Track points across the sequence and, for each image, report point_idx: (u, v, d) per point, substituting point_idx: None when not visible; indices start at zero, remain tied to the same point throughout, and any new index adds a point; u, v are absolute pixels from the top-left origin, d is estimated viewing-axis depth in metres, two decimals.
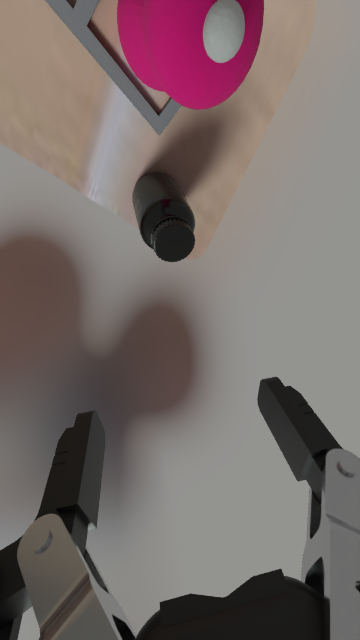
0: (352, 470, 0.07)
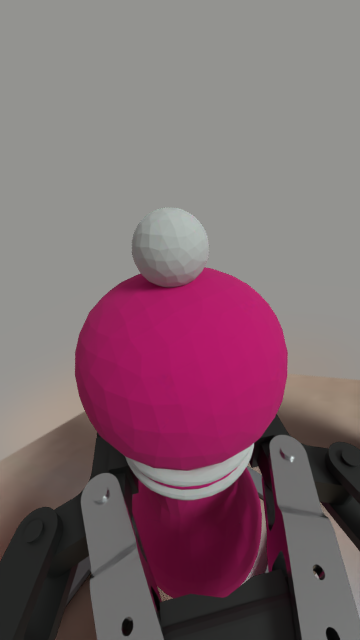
0: (292, 453, 0.08)
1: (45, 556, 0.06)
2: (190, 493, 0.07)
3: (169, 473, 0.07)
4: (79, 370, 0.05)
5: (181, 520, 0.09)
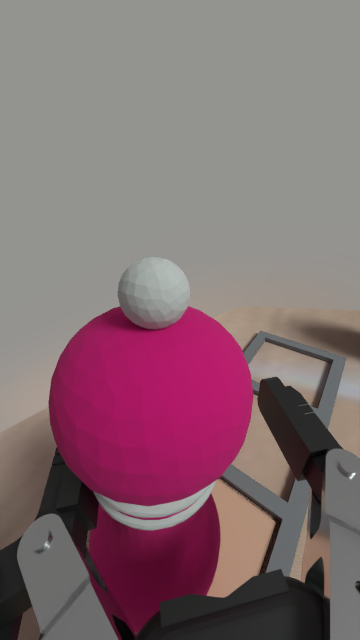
0: (352, 470, 0.07)
1: None
2: (150, 523, 0.07)
3: (132, 503, 0.07)
4: (53, 401, 0.06)
5: (139, 547, 0.09)
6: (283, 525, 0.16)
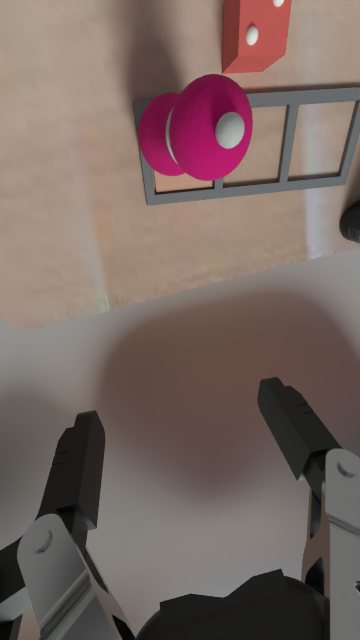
0: (352, 470, 0.07)
1: None
2: (175, 158, 0.20)
3: None
4: (179, 119, 0.15)
5: (165, 150, 0.22)
6: (212, 190, 0.33)
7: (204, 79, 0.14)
